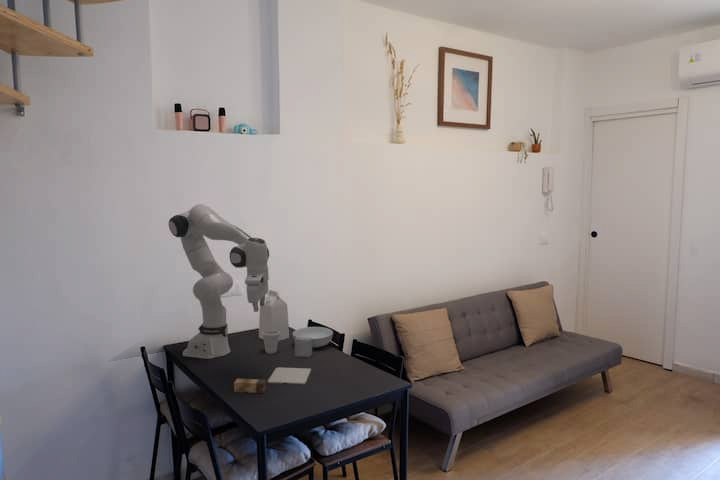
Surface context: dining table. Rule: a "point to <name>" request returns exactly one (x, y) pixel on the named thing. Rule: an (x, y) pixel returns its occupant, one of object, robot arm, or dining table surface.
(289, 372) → the mat
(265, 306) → the milk
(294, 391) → the dining table surface
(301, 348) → the medicine box
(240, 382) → the wooden block
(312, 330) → the serving bowl
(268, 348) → the dixie cup
